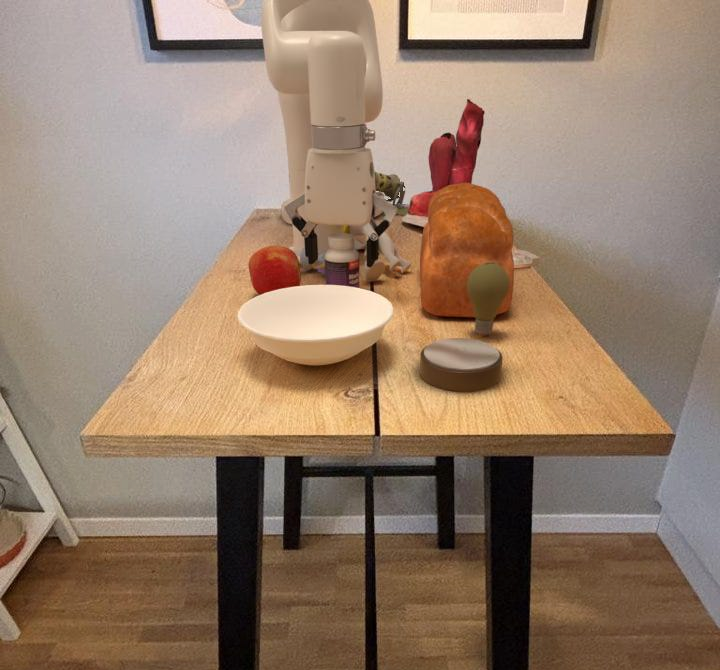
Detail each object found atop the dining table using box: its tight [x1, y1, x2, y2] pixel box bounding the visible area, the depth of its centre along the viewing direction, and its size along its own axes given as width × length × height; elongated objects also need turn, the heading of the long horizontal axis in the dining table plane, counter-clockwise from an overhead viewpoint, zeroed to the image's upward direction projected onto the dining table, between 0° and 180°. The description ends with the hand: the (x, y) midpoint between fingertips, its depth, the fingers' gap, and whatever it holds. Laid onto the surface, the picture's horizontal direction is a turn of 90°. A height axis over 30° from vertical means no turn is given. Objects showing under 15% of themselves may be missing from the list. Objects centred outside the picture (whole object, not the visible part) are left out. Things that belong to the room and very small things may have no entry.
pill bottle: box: [324, 233, 360, 288], centre depth 102 cm, size 5×5×10 cm
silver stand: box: [419, 337, 504, 392], centre depth 81 cm, size 10×10×3 cm
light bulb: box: [467, 262, 509, 337], centre depth 89 cm, size 6×6×10 cm
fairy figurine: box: [298, 247, 325, 276], centre depth 116 cm, size 12×5×12 cm
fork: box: [353, 237, 366, 251], centre depth 131 cm, size 3×21×3 cm, turn 24°
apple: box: [247, 245, 302, 295], centre depth 103 cm, size 8×8×8 cm
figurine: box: [343, 225, 412, 283], centre depth 115 cm, size 10×9×15 cm
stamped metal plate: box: [512, 248, 541, 269], centre depth 120 cm, size 8×7×2 cm
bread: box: [419, 183, 515, 318], centre depth 102 cm, size 14×26×16 cm, turn 176°
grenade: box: [374, 170, 406, 208], centre depth 153 cm, size 7×7×15 cm
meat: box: [401, 98, 486, 228], centre depth 140 cm, size 23×24×25 cm
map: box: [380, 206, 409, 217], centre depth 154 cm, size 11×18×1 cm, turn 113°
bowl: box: [237, 284, 395, 366], centre depth 85 cm, size 20×20×6 cm
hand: (341, 263), depth 102 cm, fingers open, 8 cm apart
